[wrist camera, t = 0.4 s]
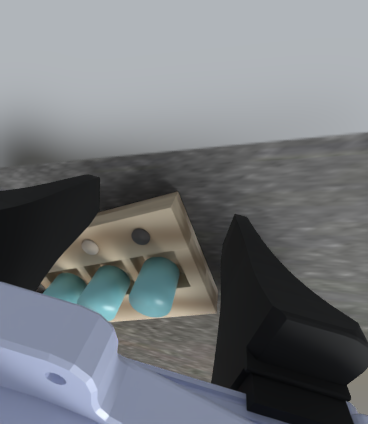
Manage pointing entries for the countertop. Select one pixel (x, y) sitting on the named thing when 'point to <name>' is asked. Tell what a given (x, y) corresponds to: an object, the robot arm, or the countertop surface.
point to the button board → (143, 253)
